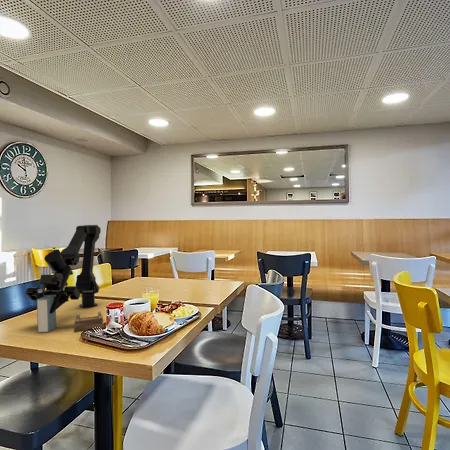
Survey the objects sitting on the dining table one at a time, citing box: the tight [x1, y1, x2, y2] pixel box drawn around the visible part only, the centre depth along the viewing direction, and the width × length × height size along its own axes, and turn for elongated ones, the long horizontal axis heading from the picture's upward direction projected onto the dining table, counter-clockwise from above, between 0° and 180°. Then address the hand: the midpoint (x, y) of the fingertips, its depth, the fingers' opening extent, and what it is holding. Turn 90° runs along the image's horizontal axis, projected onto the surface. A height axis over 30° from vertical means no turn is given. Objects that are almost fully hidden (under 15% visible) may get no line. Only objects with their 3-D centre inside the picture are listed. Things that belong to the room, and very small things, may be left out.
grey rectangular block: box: [36, 296, 57, 334], centre depth 115 cm, size 5×4×12 cm
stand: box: [73, 311, 105, 333], centre depth 119 cm, size 12×10×4 cm
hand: (44, 313), depth 113 cm, fingers closed on grey rectangular block, 4 cm apart
